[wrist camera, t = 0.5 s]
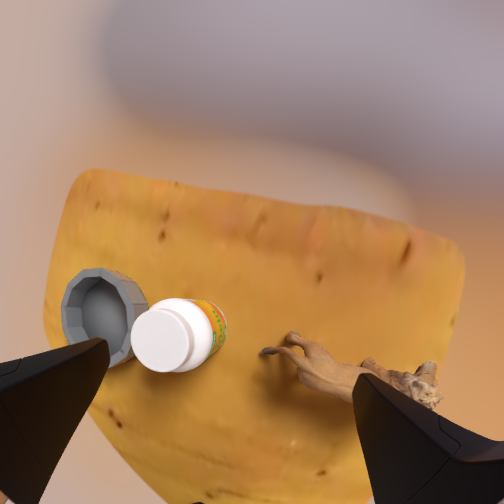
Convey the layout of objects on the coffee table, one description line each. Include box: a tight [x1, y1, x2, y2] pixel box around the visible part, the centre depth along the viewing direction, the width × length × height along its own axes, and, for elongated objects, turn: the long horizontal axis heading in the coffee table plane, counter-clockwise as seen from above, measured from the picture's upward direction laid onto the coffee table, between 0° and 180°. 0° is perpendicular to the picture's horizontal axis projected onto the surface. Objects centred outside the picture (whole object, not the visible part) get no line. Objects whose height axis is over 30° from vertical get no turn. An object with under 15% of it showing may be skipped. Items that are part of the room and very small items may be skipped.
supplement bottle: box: [131, 298, 227, 372], centre depth 20 cm, size 5×5×10 cm
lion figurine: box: [262, 331, 444, 410], centre depth 18 cm, size 15×5×9 cm, turn 76°
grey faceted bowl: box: [61, 268, 149, 368], centre depth 24 cm, size 10×10×3 cm
